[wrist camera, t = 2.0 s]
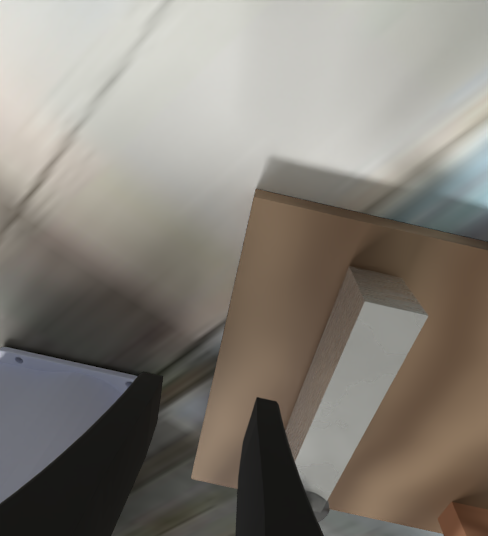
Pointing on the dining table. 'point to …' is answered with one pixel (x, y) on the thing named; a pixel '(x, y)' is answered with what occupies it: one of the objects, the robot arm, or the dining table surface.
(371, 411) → the bar
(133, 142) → the dining table surface
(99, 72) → the dining table surface
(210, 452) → the brown wooden board
